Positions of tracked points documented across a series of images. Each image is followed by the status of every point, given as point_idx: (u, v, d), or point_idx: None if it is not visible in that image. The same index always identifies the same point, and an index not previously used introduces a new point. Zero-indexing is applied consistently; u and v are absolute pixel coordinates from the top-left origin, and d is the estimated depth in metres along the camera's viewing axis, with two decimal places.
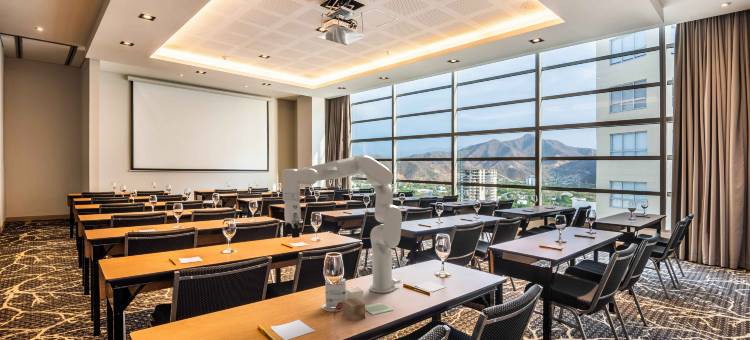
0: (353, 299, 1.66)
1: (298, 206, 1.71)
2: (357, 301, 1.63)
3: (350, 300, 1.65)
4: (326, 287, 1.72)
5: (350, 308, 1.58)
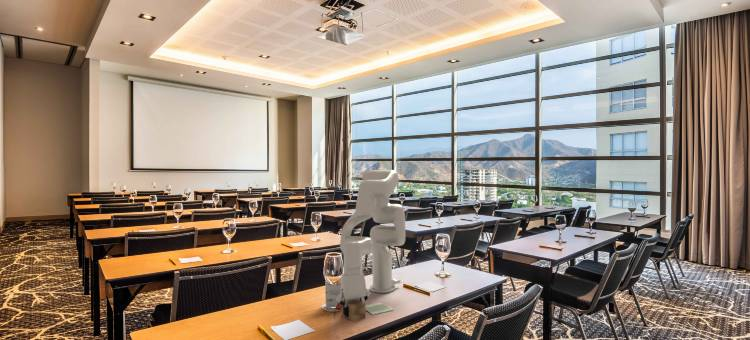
0: None
1: None
2: (357, 301, 1.63)
3: None
4: (326, 287, 1.72)
5: (351, 308, 1.58)
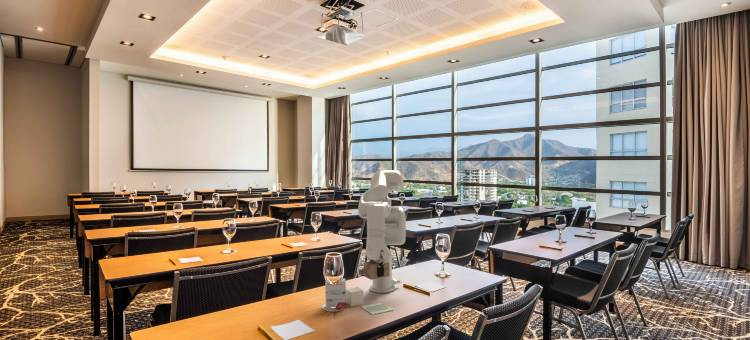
0: (368, 262, 1.69)
1: None
2: (375, 261, 1.72)
3: (371, 263, 1.68)
4: (326, 287, 1.72)
5: (387, 265, 1.69)
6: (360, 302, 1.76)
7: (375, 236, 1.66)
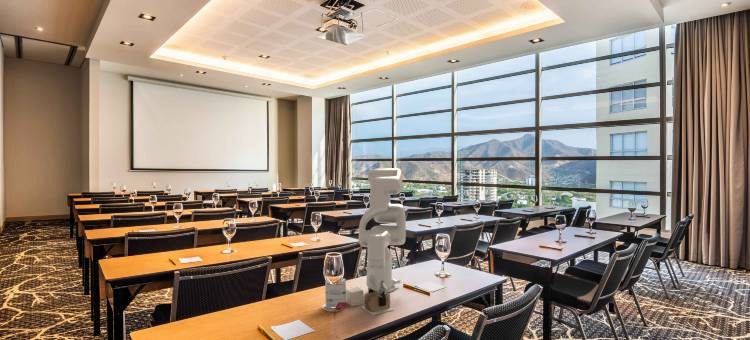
0: (369, 294, 1.70)
1: None
2: (376, 292, 1.72)
3: (371, 295, 1.69)
4: (326, 287, 1.72)
5: (388, 296, 1.69)
6: (360, 302, 1.76)
7: (376, 267, 1.66)
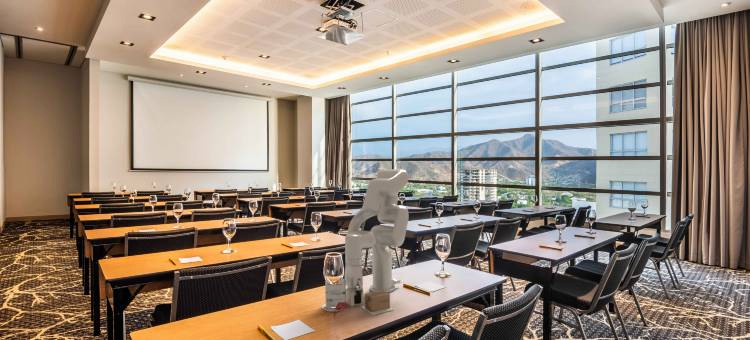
0: (369, 294, 1.70)
1: None
2: (376, 292, 1.72)
3: (371, 295, 1.69)
4: (326, 287, 1.72)
5: (388, 296, 1.69)
6: None
7: (352, 265, 1.74)
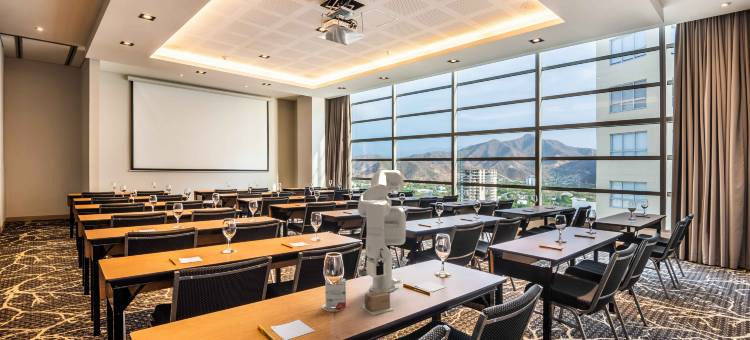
0: (369, 294, 1.70)
1: None
2: (376, 292, 1.72)
3: (371, 295, 1.69)
4: (326, 287, 1.72)
5: (388, 296, 1.69)
6: None
7: (374, 234, 1.66)
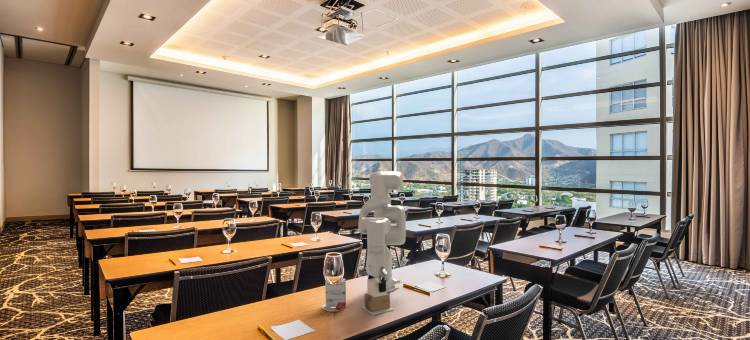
0: None
1: None
2: None
3: None
4: (326, 287, 1.72)
5: (388, 296, 1.69)
6: (383, 293, 1.68)
7: (375, 253, 1.66)
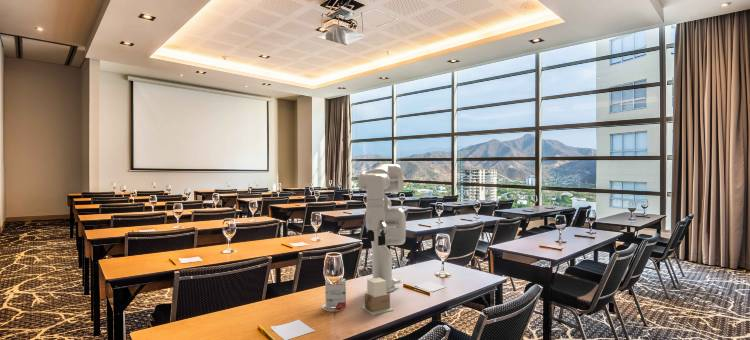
0: None
1: None
2: None
3: None
4: (326, 287, 1.72)
5: (388, 296, 1.69)
6: (383, 293, 1.68)
7: (375, 206, 1.66)
